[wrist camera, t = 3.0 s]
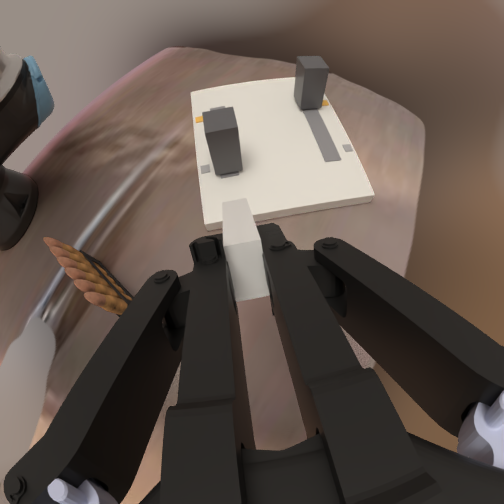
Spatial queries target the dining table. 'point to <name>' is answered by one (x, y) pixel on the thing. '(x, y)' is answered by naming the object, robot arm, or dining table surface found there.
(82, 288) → the ammunition clip
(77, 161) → the dining table surface
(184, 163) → the dining table surface
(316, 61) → the block
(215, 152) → the block
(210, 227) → the switch panel
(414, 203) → the dining table surface
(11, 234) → the robot arm
